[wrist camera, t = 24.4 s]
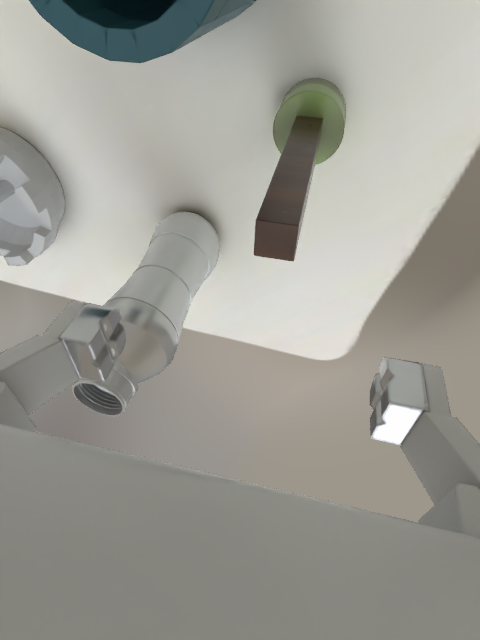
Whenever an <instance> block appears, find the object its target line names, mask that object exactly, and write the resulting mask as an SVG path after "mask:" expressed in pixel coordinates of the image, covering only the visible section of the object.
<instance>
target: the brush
mask: <svg viewBox="0 0 480 640" xmlns="http://www.w3.org/2000/svg"><path fill="white" fill-rule="evenodd" d="M345 116H346V107H345V102H344V98H343V96H342V94H341V92H340V91H339V89H338V88H337V87H336V86H335V85H334V84H332V83H331V82H329V81H327V80H324V79H320V78H311V79H306V80H303V81H301V82H299V83H298V84H296V85H295V86H294V87H292V89H291V90H290V91H289V92H288V93H287V95H286V97H285V98H284V100H283V102H282V104H281V106H280V108H279V110H278V112H277V114H276V117H275V120H274V125H273V135H274V140H275V143H276V146H277V148H278V150H279V151H280V153H281V157H280V159H279V162H278V164H277V167H276V170H275V172H274V175H273V177H272V180H271V183H270V185H269V188H268V190H267V193H266V195H265V198H264V201H263V203H262V206H261V208H260V211H259V213H258V216H257V219H256V227H255V244H254V255H255V256H261V257H268V258H275V259H281V260H288V261H294V258H295V253H296V249H297V244H298V240H299V235H300V230H301V226H302V221H303V217H304V212H305V207H306V203H307V198H308V193H309V189H310V184H311V180H312V175H313V170H314V166H315V165H316V164H319V163H321V162H323V161H325V160H327V159H328V158H329V157H331V156H332V155H333V154H334V153H335V151H336V150H337V149H338V147H339V145H340V143H341V141H342V138H343V134H344V126H345Z"/></svg>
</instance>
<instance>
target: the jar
mask: <svg viewBox="0 0 480 640" xmlns="http://www.w3.org/2000/svg"><path fill="white" fill-rule="evenodd" d="M29 1H30V2H31V4H32V5H33V6H34V8H35V9H36V10H37V12H38V13H39V14H40V15H41V16H42V17H43V18H44V19H45V20H46V21H47V22H48V23H50V24H51V25H52V26H53V27H54V28H55V29H57V30H58V31H59V32H60V33H61V34H62V35H64V36H65V37H66V38H67V39H68V40H69V41H71V42H72V43H73V44H75V45H77V46H79V47H81V48H83V49H85V50H87V51H90V52H92V53H94V54H96V55H98V56H100V57H103V58H105V59H108V60H109V61H121V62H133V63H141V62H142V63H143V62H146V61H149V60H152V59H155V58H158V57H161V56H163V55H166V54H169V53H172V52H174V51H175V50H177V49H179V48H181V47H183V46H184V45H186V44H188V43H190V42H192V41H193V40H195V39H197V38H199V37H201V36H202V35H204V34H206V33H208V32H210V31H211V30H213V29H215V28H217V27H219V26H220V25H222V24H224V23H226V22H228V21H229V20H231V19H233V18H235V17H237V16H238V15H240V14H241V13H242V12H243V11H244V10H245V9H247V8H248V7H249V6H250V5H252V4H253V2H254V1H256V0H29Z"/></svg>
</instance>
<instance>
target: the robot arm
mask: <svg viewBox="0 0 480 640" xmlns="http://www.w3.org/2000/svg"><path fill="white" fill-rule="evenodd" d="M121 318H122V316H121V313H120V310H118V309H115V308H110V307H105V306H100V305H96V304H91V303H85V302H80V301H75V300H73V301H71V302H69V303H68V304H67V306H66V307H65V308H64V309H63V310H62V312H61V313H60V314H59V315H58V316H57V318H56V319H55V320H54V321H53V323H52V324H51V325H50V326H49V328H48V329H47V330H46V331H45V332H44V334H43V335H42V336H41V335H36V336H34V337H32V338H30V339H28V340H26V341H24V342H22V343H20V344H18V345H16V346H14V347H12V348H10V349H8V350H5V351H3V352H1V353H0V640H480V444H479V443H478V441H477V440H476V439H475V438H474V437H473V436H472V435H471V433H470V432H469V431H468V430H467V429H466V428H465V426H464V425H463V424H462V423H461V422H460V421H459V420H458V418H455V417H451V412H450V407H449V402H448V397H447V392H446V386H445V382H444V377H443V371H442V369H441V367H439V366H433V365H427V364H422V363H421V364H420V363H417V362H411V361H405V360H400V359H394V358H388V357H384V358H383V359H382V361H381V363H380V372H379V373H377V374H375V376H374V379H373V381H372V386H371V390H370V405H371V407H372V408H373V409H374V411H373V413H372V415H371V417H370V435H371V438H372V439H377V440H381V441H385V442H389V443H393V444H398V445H401V446H400V447H401V449H402V450H403V452H404V454H405V455H406V457H407V459H408V461H409V462H410V464H411V466H412V467H413V469H414V471H415V472H416V474H417V476H418V477H419V479H420V481H421V483H422V484H423V486H424V488H425V489H426V491H427V493H428V495H429V496H430V498H431V500H432V501H433V503H434V506H433V507H432V508H431V509H430V510H429V511H428V512H427V513H426V514H425V515H424V516H422V517H421V518H420V520H419V523H418V522H413V521H409V520H405V519H401V518H397V517H392V516H388V515H384V514H380V513H375V512H371V511H367V510H363V509H359V508H354V507H350V506H346V505H342V504H338V503H333V502H329V501H325V500H321V499H317V498H313V497H308V496H304V495H300V494H296V493H292V492H287V491H283V490H279V489H275V488H270V487H266V486H262V485H258V484H254V483H250V482H246V481H241V480H237V479H233V478H229V477H225V476H220V475H216V474H212V473H207V472H203V471H199V470H195V469H191V468H187V467H182V466H178V465H174V464H170V463H166V462H161V461H157V460H153V459H149V458H145V457H140V456H136V455H131V454H128V453H124V452H119V451H115V450H111V449H106V448H103V447H98V446H94V445H90V444H86V443H81V442H77V441H73V440H68V439H65V438H60V437H56V436H52V435H48V434H43V433H39V432H36V425H35V424H34V423H33V421H32V420H31V419H30V417H29V416H28V415H30V414H31V413H33V412H34V411H35V410H37V409H38V408H40V407H41V406H42V405H44V404H45V403H46V402H48V401H49V400H51V399H52V398H53V397H55V396H56V395H58V394H59V393H60V392H62V391H63V390H65V389H66V388H67V387H69V386H70V385H72V384H73V383H74V382H76V381H77V380H79V379H80V378H79V377H81V378H86V379H92V380H97V381H103V382H104V381H105V380H106V378H107V376H108V375H109V373H110V371H111V370H112V368H113V366H114V364H113V360H112V359H114V358H116V357H117V356H119V355H120V354H121V352H122V351H123V349H124V346H125V342H126V330H125V327H124V326H123V325H122V324H121V323H120V320H121Z"/></svg>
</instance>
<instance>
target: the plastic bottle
mask: <svg viewBox="0 0 480 640" xmlns="http://www.w3.org/2000/svg"><path fill="white" fill-rule="evenodd" d="M219 251H220V243H219V238H218V235H217V233H216V231H215V230H214V228H213V227H212V226H211V224H210V223H209V222H208V221H207V220H206V219H204V218H203V217H201V216H199V215H197V214H195V213H190V212H176V213H173V214H171V215H169V216H168V217H167V218H165V219H164V220H163V221H162V222H160V223H159V225H158V226H157V227H156V229H155V231H154V234H153V236H152V238H151V241H150V244H149V248H148V250H147V252H146V253H145V255H144V257H143V259H142V261H141V263H140V265H139V267H138V268H137V269H136V271H135V272H134V273H133V274H132V276H131V277H130V278H129V279H128V281H127V282H126V283H125V284H124V285H123V286H122V287H121V288H120V289H119V290H118V291H117V292H116V293H115V294H114V295H113V296H112V297H111V298H110V299H109V300H108V301H107V302H106V303H105V304H104V305H103V306H105V307H110V308H115V309H118V310H120V313H121V316H122V318H121V320H120V323H121V324H122V325H123V326H124V327H125V330H126V342H125V346H124V349H123V351H122V352H121V354H120V355H119V356H117V357H116V358H114V359H112V360H113V364H114V366H113V368H112V370H111V371H110V373H109V375H108V376H107V378H106V380H105V381H104V382H103V381H97V380H92V379H86V378H81V377H79V378H80V379H79V380H77V381H76V382H74V384H73V386H72V393H73V395H74V397H75V398H76V399H77V400H78V401H79V402H80V403H81V404H82V405H84V406H85V407H87V408H88V409H90V410H92V411H94V412H96V413H99V414H102V415H106V416H119V415H121V414H122V413H123V412H124V411H125V410H126V408H127V406H128V404H129V402H130V400H131V399H132V398H133V397H134V396H135V394H136V392H137V390H138V383H140V382H143V381H146V380H148V379H150V378H152V377H154V376H156V375H158V374H160V373H161V372H162V371H164V369H165V368H166V367H167V366H168V365H169V364H170V363H171V361H172V360H173V358H174V355H175V352H176V349H177V346H178V341H179V338H180V334H181V330H182V326H183V322H184V320H185V317H186V315H187V312H188V309H189V306H190V304H191V302H192V299H193V297H194V296H195V294H196V292H197V291H198V289H199V287H200V286H201V284H202V283H203V281H204V280H205V279H206V278H207V277H208V276H209V275H210V273H211V272H212V270H213V269H214V267H215V266H216V264H217V261H218V257H219Z"/></svg>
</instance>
